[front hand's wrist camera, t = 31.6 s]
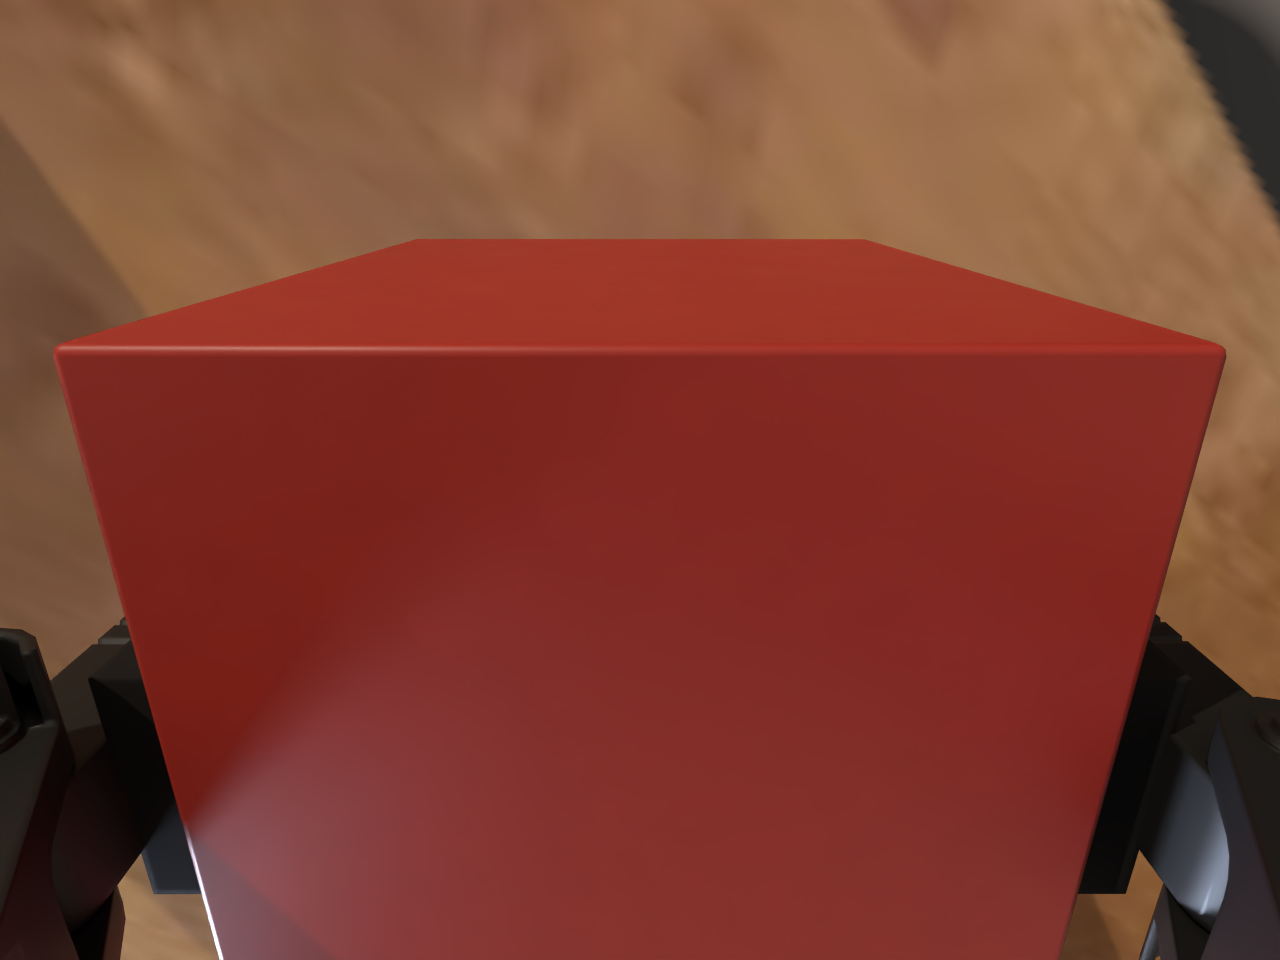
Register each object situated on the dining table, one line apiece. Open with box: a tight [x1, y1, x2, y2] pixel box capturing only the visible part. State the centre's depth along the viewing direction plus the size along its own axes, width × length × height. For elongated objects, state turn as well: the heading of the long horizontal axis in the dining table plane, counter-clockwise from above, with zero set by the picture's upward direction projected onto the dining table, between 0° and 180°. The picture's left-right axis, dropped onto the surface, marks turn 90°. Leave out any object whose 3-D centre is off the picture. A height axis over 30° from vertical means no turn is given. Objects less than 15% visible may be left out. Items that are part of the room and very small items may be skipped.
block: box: [53, 239, 1226, 960], centre depth 12 cm, size 9×9×10 cm
